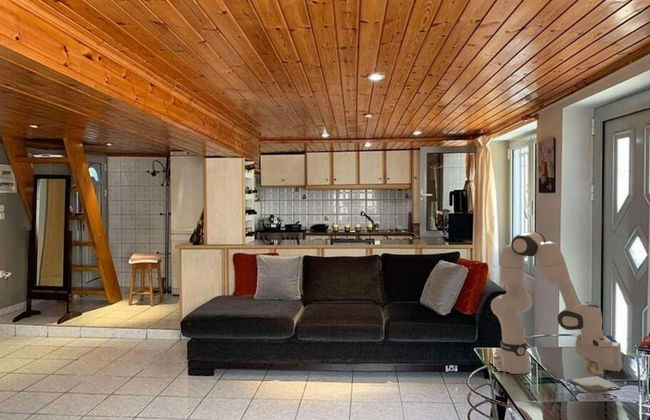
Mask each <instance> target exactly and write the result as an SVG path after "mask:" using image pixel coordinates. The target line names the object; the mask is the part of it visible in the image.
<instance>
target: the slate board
mask: <svg viewBox="0 0 650 420" xmlns="http://www.w3.org/2000/svg"><path fill="white" fill-rule="evenodd" d="M570 382H571V383H572V384H575V385H577V386H578V387H581V388H583V389H585V390H587V391H590V392H591V391H592V393H595V391H597V392H602V391H601V390H605V391H607V390H606V389H612V388H616V387H620V388H621V385H619V384H616V383H613V382H612V381H609V380H606V379H605V378H602V377H601V376H596V375H594V376H587V377H581V378H580V377H579V378H572V379H570Z"/></svg>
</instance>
